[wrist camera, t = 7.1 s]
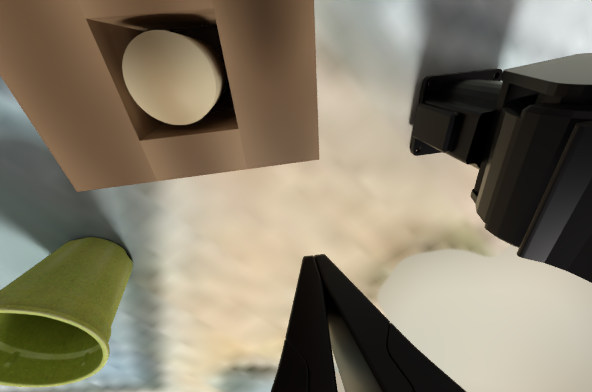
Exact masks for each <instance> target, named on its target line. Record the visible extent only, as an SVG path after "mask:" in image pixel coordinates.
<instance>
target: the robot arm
mask: <svg viewBox="0 0 592 392" xmlns="http://www.w3.org/2000/svg"><path fill="white" fill-rule="evenodd" d="M494 74H495V77H494V78H493V76H494ZM430 80H431V84H430V85H429V86H428V83H429V81H430ZM502 81H503V82H502ZM412 135H413V139H412V144H411V153H412V154H414V155H415V156H418V155H426V154H433V153H440V152H443V153H446V154H448V155H450V156H452V157H454V158H456V159H458V160H460V161H462V162H464V163H466V164H470V165H472V166H474V167H476V168H478V169H479V173H478V176H477V180H476V184H475V188H474V189H473V190H472V192H471V198H472V199H473V201H474V202H475V204H476V211H477V213H478V215H479V216H480V217H481V219H482V220H483V222H484V223H486V224H485V228H486V230H488V231H489V232H490V233H492V234H493V235H495V236H496V237H498V238H499V239H501V240H503V241H505V242H507V243H509V244H511V245H513V246H516V247H518V248H519V250H518V252H517V255H518V256H519V257H522V258H526V259H530V260H534V261H538V262H543V263H546V264H549V265H552V266H555V267H558V268H560V269H563V270H566V271H568V272H570V273H572V274H575V275H577V276H579V277H581V278H583V279H585V280H587V281H589V282H591V283H592V53H584V54H576V55H571V56H566V57H562V58H557V59H552V60H548V61H543V62H538V63H533V64H529V65H524V66H519V67H514V68H510V69H505V70H504V71H503V72H502V70H501V69H487V70H478V71H468V72H459V73H450V74H441V75H432V76H427V77H426V78H425V79H424V80H423V83H422V88H421V94H420V99H419V105H418V107H417V111H416V117H415V123H414V128H413V134H412ZM417 148H418V150H417V151H416V149H417ZM331 347H332V348H331ZM332 350H333V353H334V357H335V360H336V363H337V366H338V369H339V373H340V376H341V379H342V382H343V386H344V389H345V392H466V391H465V390H464V389H462V388H461V387H460V386H459V385H458V384H457V383H456V382H454V381H453V380H452V379H451V378H450V377H449V376H448V375H446V374H445V373H444V372H443V371H442V370H440V369H439V368H438V367H437V366H436V365H435V364H434V363H433V362H431V361H430V360H429V359H428V358H427V357H426V356H425V355H424V354H423V353H421V352H420V351H419V350H418V349H417V348H416V347H415V346H414V345H413V344H412V343H411V342H410V341H409V340H408V339H407V338H406V337H404V335H402V333H401V332H400V331H399V330H398V329H396V327H395V326H394V325H393V324H392V323H390V321H389V320H388V319H387V318H386V317H385V316H384V315H383V314H382V313H381V312H380V311H379V310H378V309H377V308H376V307H375V306H374V305H373V304H372V303H371V302H370V301H369V300H368V298H367V297H366V296H365V295H364V294H363V293H362V292H361V291H360V290H359V289H358V288H357V287H356V286H355V285H354V284H353V283H352V282H351V281H350V280H349V279H348V278H347V277H346V276H345V275H344V274H343V273H342V272H341V271H340V270H339V269H338V268H337V266H336V265H335V264H334V263H333V262H332V261H331V260H330V259H329V258H328V257H327V256H326V255H324V254H320V255H315V256H304V257H303V260H302V265H301V269H300V274H299V278H298V283H297V287H296V292H295V297H294V301H293V306H292V310H291V315H290V319H289V324H288V328H287V333H286V340H285V341H284V346H283V351H282V355H281V359H280V363H279V367H278V370H277V374H276V377H275V380H274V383H273V386H272V389H271V392H338V391H337V384H336V377H335V369H334V362H333V355H332Z"/></svg>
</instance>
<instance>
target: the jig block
mask: <svg viewBox="0 0 592 392" xmlns="http://www.w3.org/2000/svg"><path fill="white" fill-rule="evenodd" d="M211 25H217V28H218V33H219V37H220V42H221V47H222V52H223V57H224V61H225V66H226V71H227V76H228V80H229V85H230V90H231V95H232V100H233V104H234V109H231V110H222V111H214V112H208V113H207V114H206V115H205V116H204V117H203V118H201V119H200V120H198V121H196V122H194V123H191V124H187V125H173V124H168V123H165V122H162V121H160V120H158V119H156V118H154V117H152V116H151V115H149V114H148V113H146V112H145V111H144V110H143V109H142V108H141V107H140V106H139V105H138V104H137V103H136V101H135V100H134V99H133V97H132V96H131V94H130V93H129V91H128V88H127V86H126V84H125V81H124V77H123V70H122V61H123V56H124V53H125V50H126V48H127V46H128V44H129V43H130V42H131V41H132V40H133V39H134V38H135V37H136V36H138V35H140V34H141V33H144V32H145V31H151V30H164V29H176V28H188V27H199V26H211ZM0 76H1V77H2V79H3V80H4V82H5V83H6V85H7V86H8V88H9V89H10V91H11V92H12V94H13V95H14V97H15V98H16V100H17V101H18V103H19V105H20V106H21V108H22V109H23V111H24V112H25V114H26V115H27V117H28V118H29V120H30V121H31V123H32V124H33V126H34V127H35V129H36V130H37V132H38V133H39V135H40V136H41V138H42V140H43V141H44V143H45V144H46V146H47V147H48V149H49V150H50V152H51V153H52V155H53V156H54V158H55V159H56V161H57V162H58V164H59V165H60V167H61V168H62V170H63V171H64V173H65V174H66V176H67V178H68V179H69V181H70V182H71V184H72V185H73V187H74V188H75V190H76V191H77V192H80V191H87V190H95V189H102V188H110V187H117V186H124V185H132V184H139V183H147V182H154V181H162V180H169V179H177V178H184V177H192V176H199V175H207V174H214V173H222V172H229V171H236V170H244V169H251V168H259V167H266V166H274V165H281V164H289V163H296V162H304V161H311V160H319V138H318V109H317V79H316V50H315V20H314V0H0Z"/></svg>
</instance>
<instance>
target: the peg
mask: <svg viewBox="0 0 592 392" xmlns="http://www.w3.org/2000/svg"><path fill="white" fill-rule="evenodd" d="M122 70H123V77H124V81H125V84H126V86H127V88H128V91H129V93H130V94H131V96H132V97H133V99H134V100H135V101H136V103H137V104H138V105H139V106H140V107H141V108H142V109H143V110H144V111H145V112H146V113H148V114H149V115H151V116H152V117H154V118H156V119H158V120H160V121H162V122H165V123H168V124H173V125H187V124H191V123H194V122H196V121H198V120H200V119H201V118H203V117H204V116H205V115H206V114H207V113H208V112H209V111H210V109H211V108H212V107H213V106H214V105H215V104H216V102H217V101H218V100H219V99H220V98H221V96H222V95H223V93H224V91H225V88H226V83H227V75H226V70H225V66H224V64H223V61H222V60H221V58H220V56H219V55H218V53H217V52H216V51H215V50H214V49H213V48H212V47H211V46H209V45H208V44H207V43H205V42H203V41H201V40H199V39H195V38H192V37H188V36H184V35H181V34H177V33H173V32H170V31H164V30H151V31H147V32H144V33H141V34H140V35H138V36H136V37H135V38H134V39H133V40H132V41H131V42H130V43H129V44H128V46H127V48H126V50H125V53H124V56H123V61H122Z"/></svg>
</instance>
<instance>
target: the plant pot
mask: <svg viewBox="0 0 592 392" xmlns="http://www.w3.org/2000/svg"><path fill="white" fill-rule="evenodd" d="M132 268H133V262H132V260H130V258H129V257H128V255H127V254H126V252H125V250H124V249H123V248H122V247H121V246H119V245H117V244H115V243H113V242H111V241H108V240H105V239H101V238H95V237H86V238H82V239H78V240H71V241H69V242H67V243H65V244H64V245H63V246H61V247H60V248H58V249H57V250H56V251H54V252H53V253H51V254H50V255H49V256H47V257H46V258H45V259H43V260H42V261H41V262H39V263H38V264H36V265H35V266H34V267H32V268H31V269H30V270H28V271H27V272H25V273H24V274H23V275H21V276H20V277H18V278H17V279H16V280H14V281H13V282H11V283H10V284H9V285H7V286H6V287H4V288H3V289H1V290H0V385H5V386H18V387H51V386H59V385H65V384H70V383H74V382H78V381H81V380H83V379H86V378H87V377H90V376H92V375H94V374H96V373H97V372H98V371H100V370H101V369H102V368H103V367H104V365H105V364H106V362H107V360H108V357H109V344H108V342H109V339H110V336H111V325H112V322H113V320H114V317H115V314H116V312H117V309H118V306H119V303H120V300H121V298H122V295H123V292H124V290H125V287H126V285H127V282H128V279H129V277H130V274H131V271H132Z"/></svg>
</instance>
